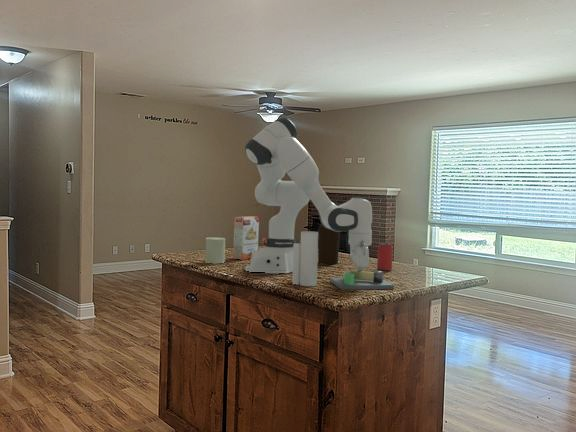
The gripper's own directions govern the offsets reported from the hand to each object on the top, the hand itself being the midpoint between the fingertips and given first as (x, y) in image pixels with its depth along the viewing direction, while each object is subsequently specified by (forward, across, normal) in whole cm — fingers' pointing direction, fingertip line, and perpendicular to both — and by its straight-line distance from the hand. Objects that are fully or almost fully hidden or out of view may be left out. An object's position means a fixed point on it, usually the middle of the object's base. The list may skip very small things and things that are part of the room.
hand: (359, 275), depth 209 cm
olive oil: (+4, +52, +6) cm, 52 cm away
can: (+3, +46, +60) cm, 75 cm away
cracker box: (+4, +62, +46) cm, 77 cm away
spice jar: (+1, -2, -2) cm, 4 cm away
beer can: (+4, +35, -18) cm, 40 cm away
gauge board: (+3, -3, 0) cm, 4 cm away
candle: (+3, -2, +22) cm, 22 cm away
